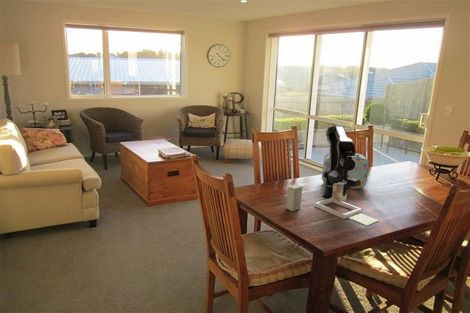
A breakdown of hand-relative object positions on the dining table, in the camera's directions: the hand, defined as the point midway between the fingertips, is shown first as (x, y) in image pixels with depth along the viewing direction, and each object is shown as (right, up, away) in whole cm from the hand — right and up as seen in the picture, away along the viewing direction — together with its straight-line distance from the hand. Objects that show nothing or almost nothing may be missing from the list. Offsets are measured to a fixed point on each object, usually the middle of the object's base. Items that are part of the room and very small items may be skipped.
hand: (339, 194), depth 182 cm
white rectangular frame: (0, -8, +2) cm, 8 cm away
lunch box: (+14, +1, +39) cm, 41 cm away
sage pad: (+9, -11, -9) cm, 17 cm away
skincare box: (-23, -7, +1) cm, 24 cm away
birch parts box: (0, -2, +1) cm, 3 cm away
